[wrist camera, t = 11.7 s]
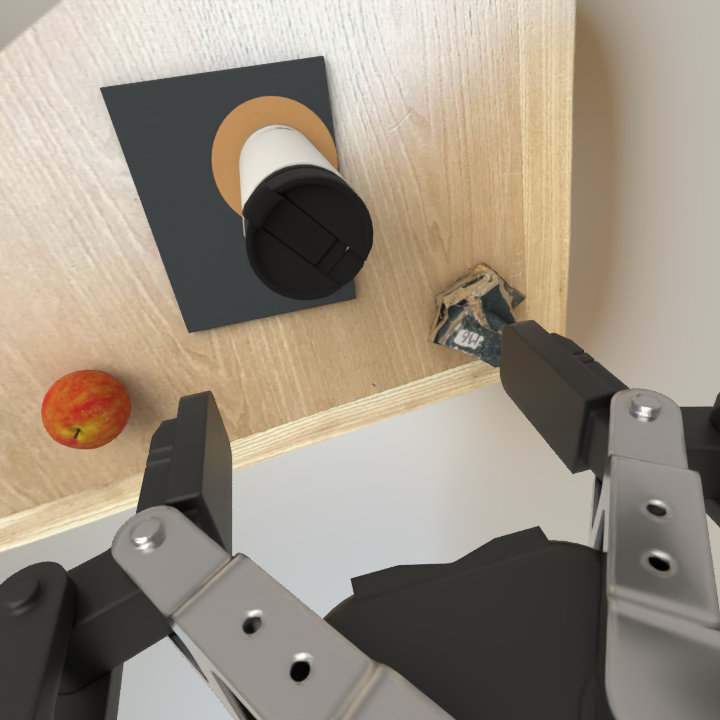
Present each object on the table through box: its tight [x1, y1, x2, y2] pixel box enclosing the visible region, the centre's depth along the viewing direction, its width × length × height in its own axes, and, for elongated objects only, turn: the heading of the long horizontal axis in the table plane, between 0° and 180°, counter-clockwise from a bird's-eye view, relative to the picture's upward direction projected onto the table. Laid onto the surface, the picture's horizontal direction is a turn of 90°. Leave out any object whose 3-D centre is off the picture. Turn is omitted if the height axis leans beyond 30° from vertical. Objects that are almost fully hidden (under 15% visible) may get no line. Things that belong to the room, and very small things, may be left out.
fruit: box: [41, 370, 131, 449], centre depth 43 cm, size 7×7×8 cm
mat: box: [100, 56, 356, 333], centre depth 41 cm, size 20×16×1 cm
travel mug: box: [239, 124, 373, 301], centre depth 31 cm, size 6×7×20 cm
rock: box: [428, 263, 526, 367], centre depth 49 cm, size 9×9×6 cm
